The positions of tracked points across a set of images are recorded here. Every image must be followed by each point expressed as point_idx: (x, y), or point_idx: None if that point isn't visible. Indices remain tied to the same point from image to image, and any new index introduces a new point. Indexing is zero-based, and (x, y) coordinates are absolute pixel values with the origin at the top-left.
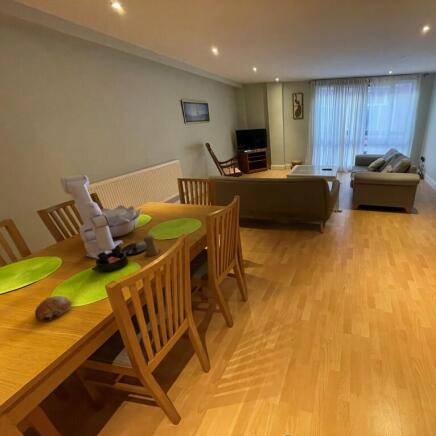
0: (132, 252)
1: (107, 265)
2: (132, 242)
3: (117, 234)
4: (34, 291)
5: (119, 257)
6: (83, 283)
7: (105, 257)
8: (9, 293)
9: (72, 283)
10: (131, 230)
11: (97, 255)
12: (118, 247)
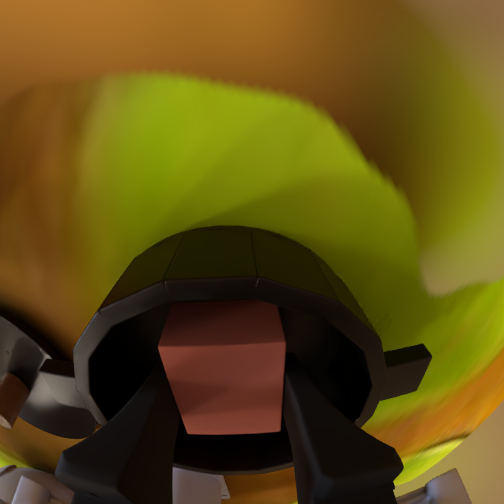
0: (37, 356)
1: (366, 320)
2: (2, 421)
3: (69, 497)
4: (483, 397)
5: (135, 389)
6: (472, 298)
7: (352, 440)
8: (473, 428)
9: (464, 350)
10: (23, 468)
11: (408, 493)
12: (88, 489)
